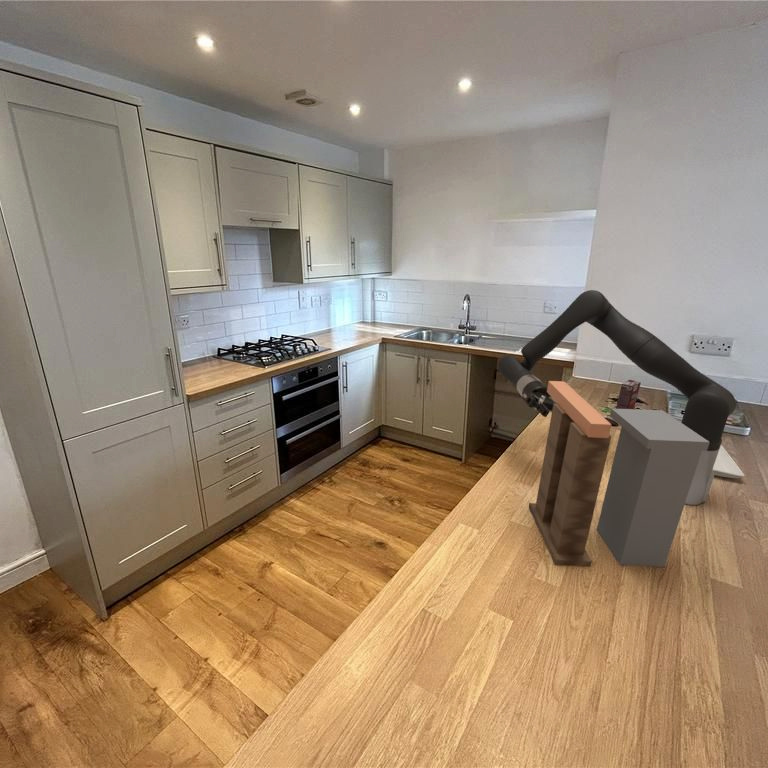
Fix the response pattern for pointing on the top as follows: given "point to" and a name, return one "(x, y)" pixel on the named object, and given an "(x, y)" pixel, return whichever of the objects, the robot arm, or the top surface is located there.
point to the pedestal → (648, 485)
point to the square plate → (726, 465)
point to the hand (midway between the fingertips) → (559, 418)
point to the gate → (568, 489)
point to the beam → (579, 410)
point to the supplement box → (628, 395)
